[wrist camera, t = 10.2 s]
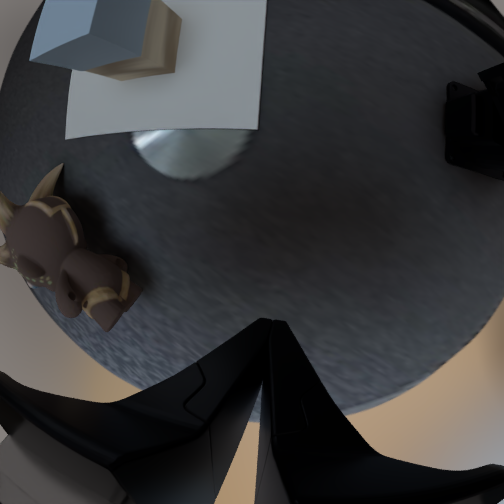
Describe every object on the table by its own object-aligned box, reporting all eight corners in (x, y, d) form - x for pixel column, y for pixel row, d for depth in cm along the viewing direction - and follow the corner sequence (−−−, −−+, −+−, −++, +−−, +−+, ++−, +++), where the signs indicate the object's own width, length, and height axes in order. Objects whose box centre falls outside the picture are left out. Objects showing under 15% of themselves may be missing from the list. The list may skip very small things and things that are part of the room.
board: (269, -26, 14) (268, -28, 14) (258, 129, 19) (257, 129, 18) (87, 12, 17) (85, 11, 16) (68, 139, 21) (65, 139, 21)
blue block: (152, -7, 12) (110, -39, 7) (141, 56, 13) (88, 33, 9) (94, 13, 12) (48, -7, 8) (82, 71, 14) (29, 60, 9)
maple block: (182, 19, 16) (152, -7, 12) (174, 72, 18) (140, 55, 13) (129, 30, 17) (94, 12, 12) (121, 81, 19) (81, 70, 14)
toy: (129, 314, 27) (35, 222, 25) (170, 258, 25) (62, 159, 23) (73, 380, 17) (-37, 252, 15) (109, 319, 14) (-22, 170, 12)
